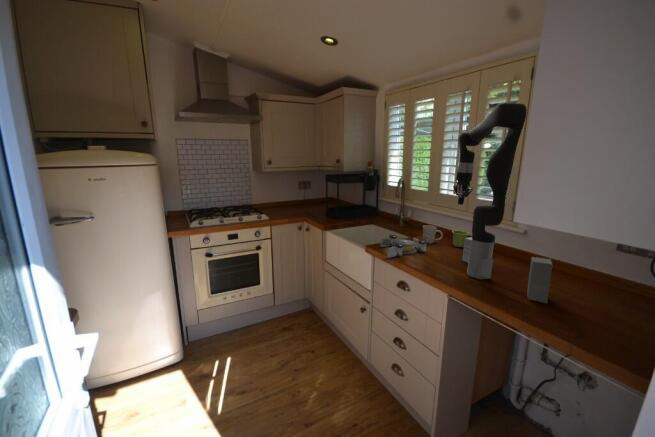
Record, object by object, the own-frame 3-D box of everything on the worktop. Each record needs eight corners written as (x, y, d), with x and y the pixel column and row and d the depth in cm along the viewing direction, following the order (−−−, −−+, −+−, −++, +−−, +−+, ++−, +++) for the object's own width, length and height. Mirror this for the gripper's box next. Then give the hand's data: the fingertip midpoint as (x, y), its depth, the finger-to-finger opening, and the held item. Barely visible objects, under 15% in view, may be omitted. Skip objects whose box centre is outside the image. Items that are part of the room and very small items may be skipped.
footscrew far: (392, 243, 182) (393, 234, 180) (398, 245, 177) (399, 236, 176) (378, 245, 176) (379, 236, 175) (383, 248, 172) (384, 238, 171)
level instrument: (421, 254, 165) (422, 244, 164) (398, 255, 162) (399, 245, 160) (409, 246, 178) (409, 237, 177) (387, 247, 175) (388, 238, 174)
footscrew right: (427, 252, 168) (428, 242, 167) (420, 252, 167) (421, 242, 165) (417, 246, 178) (417, 236, 177) (409, 246, 177) (410, 237, 175)
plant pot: (453, 242, 189) (455, 229, 187) (469, 246, 183) (471, 232, 181) (447, 245, 182) (449, 232, 180) (463, 249, 176) (465, 235, 174)
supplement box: (471, 258, 160) (474, 236, 157) (483, 263, 153) (487, 240, 151) (461, 260, 157) (464, 237, 154) (473, 265, 151) (476, 241, 148)
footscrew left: (397, 252, 165) (398, 242, 163) (404, 255, 161) (405, 245, 160) (384, 256, 158) (385, 246, 157) (392, 259, 154) (392, 248, 153)
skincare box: (547, 304, 112) (555, 265, 109) (525, 299, 116) (532, 261, 113) (545, 295, 120) (553, 258, 116) (524, 291, 123) (531, 255, 120)
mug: (420, 239, 193) (421, 224, 191) (440, 241, 191) (442, 226, 189) (422, 243, 185) (424, 228, 183) (443, 245, 183) (445, 229, 181)
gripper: (480, 172, 148) (475, 206, 152) (462, 170, 161) (458, 202, 165) (467, 172, 147) (462, 206, 150) (450, 170, 159) (446, 202, 163)
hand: (460, 204), depth 157 cm, fingers closed
